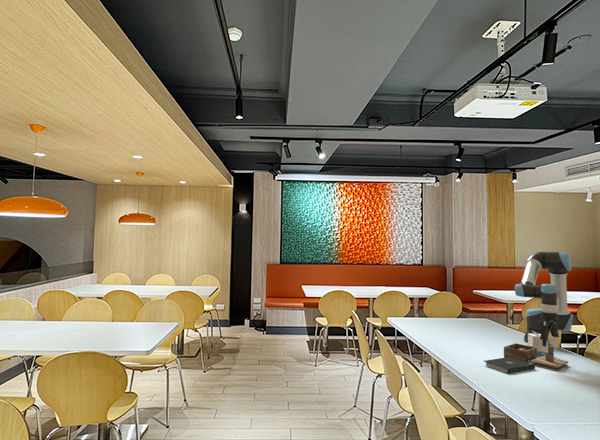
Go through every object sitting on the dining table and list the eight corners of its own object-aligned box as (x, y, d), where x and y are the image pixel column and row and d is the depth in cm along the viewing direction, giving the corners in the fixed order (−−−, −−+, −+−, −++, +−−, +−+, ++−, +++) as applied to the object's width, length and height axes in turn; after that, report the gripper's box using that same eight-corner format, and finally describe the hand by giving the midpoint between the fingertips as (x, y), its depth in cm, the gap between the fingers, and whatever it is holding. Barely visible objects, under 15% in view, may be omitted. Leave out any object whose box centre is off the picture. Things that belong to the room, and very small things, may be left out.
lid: (542, 358, 223) (542, 341, 223) (568, 364, 213) (567, 346, 213) (531, 363, 212) (531, 345, 213) (557, 370, 202) (557, 351, 203)
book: (508, 375, 195) (508, 369, 196) (483, 366, 209) (483, 360, 209) (535, 370, 205) (534, 364, 205) (509, 362, 218) (509, 356, 218)
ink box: (548, 356, 230) (548, 334, 231) (533, 355, 232) (532, 333, 232) (542, 352, 238) (542, 331, 239) (527, 351, 240) (527, 330, 241)
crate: (515, 352, 236) (515, 343, 236) (536, 357, 226) (536, 347, 227) (503, 357, 226) (503, 346, 226) (525, 362, 216) (525, 351, 217)
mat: (542, 359, 222) (542, 358, 222) (568, 365, 212) (568, 364, 212) (531, 364, 212) (531, 363, 212) (558, 371, 202) (558, 370, 202)
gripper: (549, 309, 225) (550, 345, 224) (533, 312, 209) (533, 352, 208) (564, 311, 219) (565, 348, 218) (548, 315, 204) (548, 355, 202)
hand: (549, 350), depth 213 cm, fingers open, 13 cm apart
